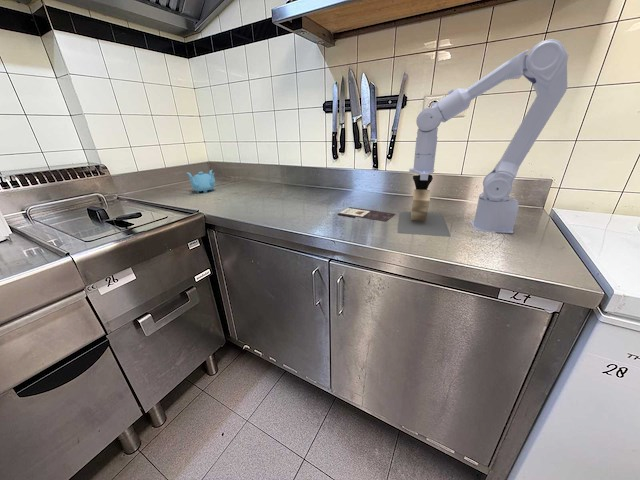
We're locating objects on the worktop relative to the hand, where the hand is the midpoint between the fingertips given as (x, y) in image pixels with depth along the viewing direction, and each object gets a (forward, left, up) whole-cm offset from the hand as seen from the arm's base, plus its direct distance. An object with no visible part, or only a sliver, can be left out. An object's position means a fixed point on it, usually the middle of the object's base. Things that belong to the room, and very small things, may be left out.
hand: (420, 199), depth 84 cm
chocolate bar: (+17, -2, -8) cm, 19 cm away
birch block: (0, 0, -5) cm, 5 cm away
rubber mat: (-1, +4, -7) cm, 8 cm away
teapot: (+105, -28, -7) cm, 109 cm away
